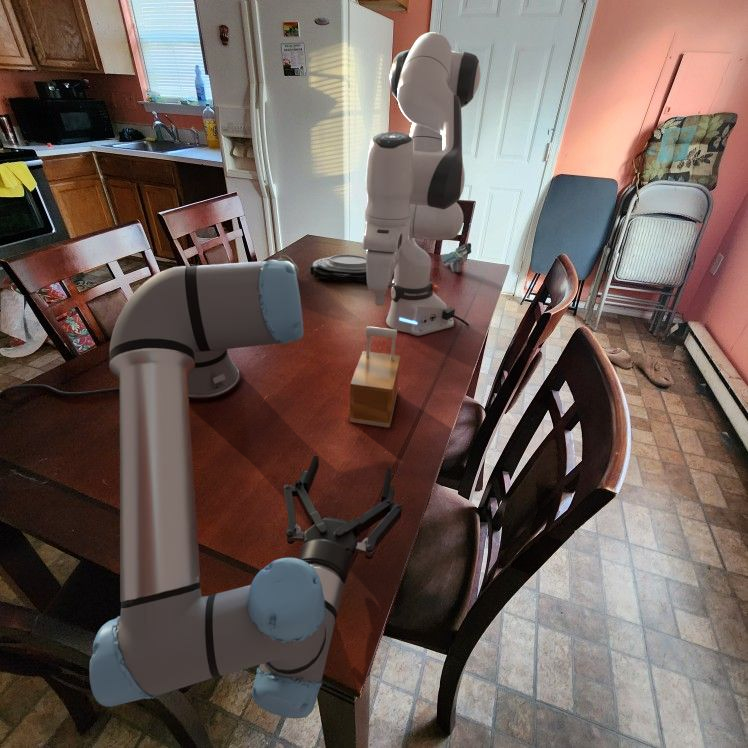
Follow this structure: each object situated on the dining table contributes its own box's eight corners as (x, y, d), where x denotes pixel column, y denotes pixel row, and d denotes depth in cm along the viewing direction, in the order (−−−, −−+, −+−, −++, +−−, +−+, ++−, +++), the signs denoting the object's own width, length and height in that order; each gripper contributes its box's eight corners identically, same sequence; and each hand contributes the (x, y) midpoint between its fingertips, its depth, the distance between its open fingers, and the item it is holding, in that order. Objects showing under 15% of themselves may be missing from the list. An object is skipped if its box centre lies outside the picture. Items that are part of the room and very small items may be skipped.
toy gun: (469, 266, 164) (464, 241, 163) (444, 277, 182) (440, 254, 181) (476, 265, 165) (472, 240, 165) (451, 276, 183) (447, 254, 182)
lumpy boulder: (308, 281, 165) (294, 282, 150) (283, 289, 168) (267, 290, 153) (300, 253, 163) (285, 251, 148) (275, 261, 165) (257, 260, 151)
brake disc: (371, 289, 156) (371, 277, 153) (298, 278, 162) (298, 266, 160) (392, 263, 182) (392, 252, 179) (328, 254, 188) (328, 243, 185)
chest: (361, 388, 106) (362, 355, 100) (397, 393, 105) (399, 360, 99) (349, 421, 95) (350, 387, 90) (389, 427, 94) (392, 393, 88)
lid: (362, 354, 101) (363, 321, 96) (400, 358, 100) (403, 326, 95) (350, 387, 90) (350, 352, 84) (392, 392, 88) (395, 357, 83)
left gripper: (240, 574, 62) (289, 469, 79) (404, 608, 59) (418, 491, 76) (232, 545, 58) (285, 441, 75) (409, 580, 55) (422, 463, 72)
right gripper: (379, 214, 89) (377, 275, 97) (361, 243, 73) (359, 313, 81) (408, 217, 89) (403, 278, 97) (396, 246, 72) (391, 317, 80)
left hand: (352, 466), depth 76 cm, fingers open, 13 cm apart
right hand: (383, 294), depth 88 cm, fingers open, 8 cm apart
